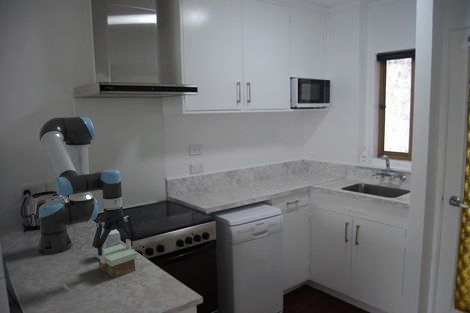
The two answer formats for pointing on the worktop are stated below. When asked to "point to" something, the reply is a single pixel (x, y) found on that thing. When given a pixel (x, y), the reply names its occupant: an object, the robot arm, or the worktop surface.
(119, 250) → the lid
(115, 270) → the box
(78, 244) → the worktop surface
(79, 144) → the robot arm
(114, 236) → the ink box
